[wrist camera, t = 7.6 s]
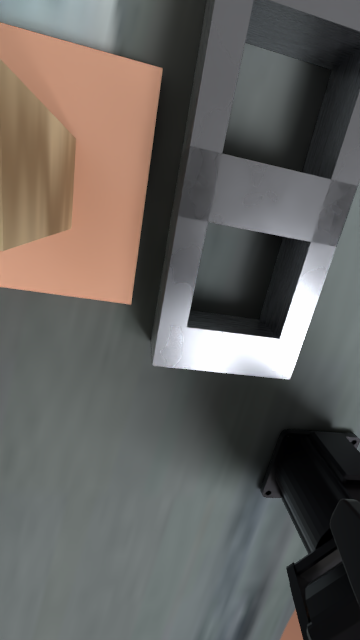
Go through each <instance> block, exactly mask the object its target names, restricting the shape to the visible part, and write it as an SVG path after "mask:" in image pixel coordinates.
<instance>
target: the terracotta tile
mask: <svg viewBox="0 0 360 640" xmlns="http://www.w3.org/2000/svg"><path fill="white" fill-rule="evenodd" d="M0 59H1V60H2V61H3V62H4V63H5V65H6V66H7V67H8V68H9V69H10V70H11V71H12V72H13V73H14V74H15V75H16V76H17V77H18V78H19V79H20V80H21V81H22V82H23V83H24V84H25V86H26V87H27V88H28V89H29V90H30V91H31V92H32V93H33V94H34V95H35V96H36V97H37V98H38V99H39V100H40V101H41V102H42V103H43V104H44V105H45V107H46V108H47V109H48V110H49V111H50V112H51V113H52V114H53V115H54V116H55V117H56V118H57V119H58V120H59V121H60V122H61V123H62V124H63V125H64V126H65V128H66V129H67V130H68V131H69V132H70V133H71V134H72V135H73V136H74V137H75V138H76V149H75V169H74V188H73V207H72V226H71V229H69V230H66V231H63V232H60V233H57V234H54V235H51V236H48V237H44V238H41V239H38V240H35V241H32V242H29V243H26V244H23V245H20V246H17V247H14V248H11V249H8V250H5V251H0V287H5V288H13V289H20V290H27V291H35V292H42V293H49V294H57V295H64V296H72V297H79V298H86V299H94V300H101V301H109V302H116V303H123V304H131V302H132V294H133V287H134V279H135V272H136V264H137V257H138V249H139V242H140V234H141V227H142V220H143V212H144V205H145V197H146V190H147V182H148V175H149V167H150V160H151V152H152V145H153V138H154V130H155V123H156V115H157V108H158V100H159V93H160V85H161V78H162V71H163V68H160V67H157V66H153V65H149V64H146V63H142V62H139V61H135V60H132V59H128V58H125V57H121V56H118V55H114V54H110V53H107V52H103V51H100V50H96V49H93V48H89V47H86V46H82V45H79V44H75V43H71V42H68V41H64V40H61V39H57V38H54V37H50V36H47V35H43V34H40V33H36V32H32V31H29V30H25V29H22V28H18V27H15V26H11V25H8V24H4V23H0Z"/></svg>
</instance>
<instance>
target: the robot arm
mask: <svg viewBox="0 0 360 640" xmlns="http://www.w3.org/2000/svg"><path fill="white" fill-rule="evenodd" d="M359 442H360V439H359V438H358V437H357V436H356V435H355V434H351V433H336V432H321V431H306V430H291V429H287V430H284V431H283V432H282V433H281V435H280V437H279V440H278V443H277V445H276V448H275V451H274V454H273V456H272V459H271V462H270V465H269V467H268V470H267V473H266V475H265V478H264V481H263V484H262V486H261V492H262V495H263V496H264V497H266V498H282V500H283V502H284V505H285V507H286V509H287V511H288V513H289V515H290V517H291V519H292V521H293V523H294V525H295V527H296V529H297V531H298V534H299V536H300V538H301V540H302V542H303V544H304V546H305V548H306V550H307V552H308V555H307V556H305V557H304V558H302V559H301V560H299V561H298V562H297V563H292V564H290V565H289V566H288V567H286V569H287V573H288V577H289V581H290V588H291V592H292V596H293V600H294V604H295V608H296V612H297V615H298V620H299V624H300V627H301V632H302V636H303V640H360V452H359V451H358V450H357V447H358V445H359Z"/></svg>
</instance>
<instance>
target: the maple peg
mask: <svg viewBox="0 0 360 640" xmlns="http://www.w3.org/2000/svg"><path fill="white" fill-rule="evenodd" d="M75 149H76V138H75V137H74V136H73V135H72V134H71V133H70V132H69V131H68V130H67V129H66V128H65V126H64V125H63V124H62V123H61V122H60V121H59V120H58V119H57V118H56V117H55V116H54V115H53V114H52V113H51V112H50V111H49V110H48V109H47V108H46V107H45V105H44V104H43V103H42V102H41V101H40V100H39V99H38V98H37V97H36V96H35V95H34V94H33V93H32V92H31V91H30V90H29V89H28V88H27V87H26V86H25V84H24V83H23V82H22V81H21V80H20V79H19V78H18V77H17V76H16V75H15V74H14V73H13V72H12V71H11V70H10V69H9V68H8V67H7V66H6V65H5V63H4V62H3V61H2V60H1V59H0V251H5V250H8V249H11V248H14V247H17V246H20V245H23V244H26V243H29V242H32V241H35V240H38V239H41V238H44V237H48V236H51V235H54V234H57V233H60V232H63V231H66V230H69V229H71V226H72V207H73V188H74V169H75Z"/></svg>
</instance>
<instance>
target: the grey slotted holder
mask: <svg viewBox="0 0 360 640" xmlns="http://www.w3.org/2000/svg"><path fill="white" fill-rule="evenodd" d="M245 42H246V43H249V44H252V45H255V46H258V47H261V48H265V49H268V50H271V51H274V52H277V53H281V54H284V55H287V56H290V57H293V58H297V59H300V60H303V61H306V62H309V63H313V64H316V65H319V66H322V67H325V68H328V69H332V71H331V74H330V77H329V81H328V84H327V88H326V91H325V95H324V98H323V102H322V105H321V108H320V112H319V115H318V119H317V122H316V126H315V129H314V133H313V136H312V139H311V143H310V146H309V150H308V153H307V157H306V160H305V164H304V167H303V170H302V172H298V171H294V170H289V169H285V168H281V167H277V166H273V165H269V164H264V163H260V162H256V161H252V160H248V159H243V158H239V157H235V156H231V155H227V154H222V152H223V147H224V142H225V138H226V133H227V128H228V123H229V118H230V113H231V108H232V103H233V99H234V94H235V89H236V84H237V79H238V74H239V69H240V64H241V60H242V55H243V50H244V45H245ZM359 182H360V0H207V1H206V8H205V14H204V20H203V26H202V32H201V38H200V44H199V50H198V56H197V62H196V68H195V74H194V81H193V87H192V93H191V99H190V105H189V111H188V117H187V123H186V129H185V135H184V141H183V147H182V154H181V160H180V166H179V172H178V178H177V184H176V190H175V196H174V202H173V208H172V214H171V221H170V227H169V233H168V239H167V245H166V251H165V257H164V263H163V269H162V275H161V281H160V287H159V294H158V300H157V306H156V312H155V318H154V324H153V330H152V336H151V354H152V366H161V367H170V368H180V369H190V370H200V371H210V372H220V373H230V374H240V375H250V376H260V377H270V378H280V379H290V378H291V375H292V372H293V369H294V366H295V363H296V360H297V358H298V355H299V352H300V349H301V346H302V343H303V341H304V338H305V335H306V332H307V329H308V326H309V324H310V321H311V318H312V315H313V312H314V309H315V307H316V304H317V301H318V298H319V295H320V292H321V289H322V287H323V284H324V281H325V278H326V275H327V272H328V270H329V267H330V264H331V261H332V258H333V255H334V253H335V250H336V247H337V244H338V241H339V238H340V235H341V233H342V230H343V227H344V224H345V221H346V218H347V216H348V213H349V210H350V207H351V204H352V201H353V199H354V196H355V193H356V190H357V187H358V184H359ZM208 222H211V223H216V224H221V225H226V226H231V227H236V228H242V229H247V230H252V231H257V232H262V233H267V234H273V235H278V236H283V239H282V243H281V246H280V250H279V253H278V257H277V260H276V264H275V267H274V270H273V274H272V277H271V281H270V284H269V288H268V291H267V295H266V298H265V301H264V305H263V308H262V312H261V315H260V319H252V318H245V317H237V316H230V315H223V314H215V313H208V312H201V311H193V310H190V308H191V303H192V299H193V294H194V289H195V284H196V279H197V274H198V269H199V264H200V260H201V255H202V250H203V245H204V240H205V235H206V230H207V225H208Z"/></svg>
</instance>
